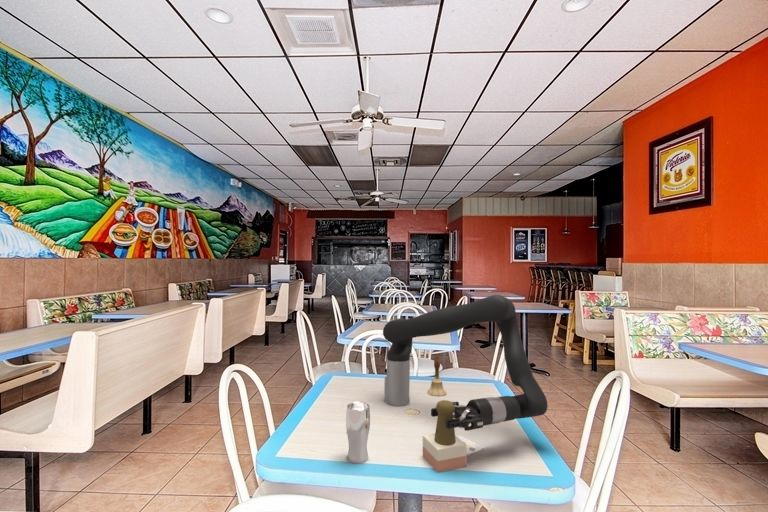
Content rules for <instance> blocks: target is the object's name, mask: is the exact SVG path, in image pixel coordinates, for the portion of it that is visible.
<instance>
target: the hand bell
mask: <svg viewBox="0 0 768 512" xmlns="http://www.w3.org/2000/svg"><path fill="white" fill-rule="evenodd" d="M433 367H434V378H433V379H431V384H430V388H429V389H427V391H426V392H427V394H428V395H430V396H432V397H443V396H446V395H447V391H446V390H445V388H444V385H443V381H442V380H441V379H440V374H439V373H440V367H441V360H440V356H439V355H435V357H434V360H433Z"/></svg>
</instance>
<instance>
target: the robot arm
mask: <svg viewBox="0 0 768 512" xmlns="http://www.w3.org/2000/svg"><path fill="white" fill-rule="evenodd" d="M486 322H487V323H488V322H493V323H495V324H496V326H497V328H498V330H499V332H500V336H501V338H502V343H503V352H504V355H503V356H504V361H505V364H506V365H505V366H506V368H507V371H508V374H509V377H510V381H511V383H512V384H513V386H514V387H519V388H520V389H521V390H522V393H521V394H517V395H513V396H512V395H504V396H503V395H502V396H496V397H495V396H488V397H481V398H475V399H474V398H472V399H469V401H468V402H467V404H466V405H462V404H460V402H459V401H451V402H452V403H453V404H454V407H455V411H454V413H453V419H449V420H446V422H445V427H446V428H447V429H450V428H454V429H455V428H456V429H457V428H459V429H464V431H465V432H466V431H472V430H477V429H482V428H483V427H484V426H492V425H496V424H500V423H503V422H510V421H513V420H517V419H528V418H533V417H540V416H542V415H544V414H546V412H547V411H548V405H549V404H548V400H547V397H546V395H545V393H544V391H543V389H542V388H541V386H540V385H539V383H538V381H537V380H536V378H535V377H534V375H533V372H532V368H531V366H530V362H529V359H528V357H527V354H526V351H525V347H524V345H523V341H522V338H521V334H520V328H519V325H518V319H517V312H516V306H515V304H514V303H513V301H512V300H511V299H509V298H507V297H505V296H503V295H501V294H492V295H490V296H489V295H488V296H486V297H484V298H481V299H478V300H475V301H472V302H469V303H465V304H457V305H452V306H447V307H442V308H438V309H434V310H432V311H428V312H425V313H422V314H420V315H417V316H415V317H411V318H403V317H402V318H401V317H400V318H396V319H391V320H389V321H387V323H386V324H385V325H384V327H383V329H382V335H383V338H384V339H385V340H386V341H387V342H389V343H391V346H390V348H389V349H388V351H387V352H386V376H385V377H384V381H383V382H384V386H383V387H384V389H383V391H384V392H383V394H384V396H383V399H384V400H383V402H385V403H387V404H388V405H391V406H395V407H396V406H398V407H399V406H406V405H408V404H409V403H410V379H411V378H410V370H411V369H410V366H411V364H410V361H411V353H412V350H413V338H417V337H420V338H421V337H430V336H432V337H433V336H437V335H444V334H449V333H454V332H457V331H460V330H462V329H463V328H465V327H467V326H470V325H473V324H474V325H475V324H479V323H486ZM430 416H431V417H433V418H434V417H438V412H437V409H436V407H434V408H431V409H430Z"/></svg>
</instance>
